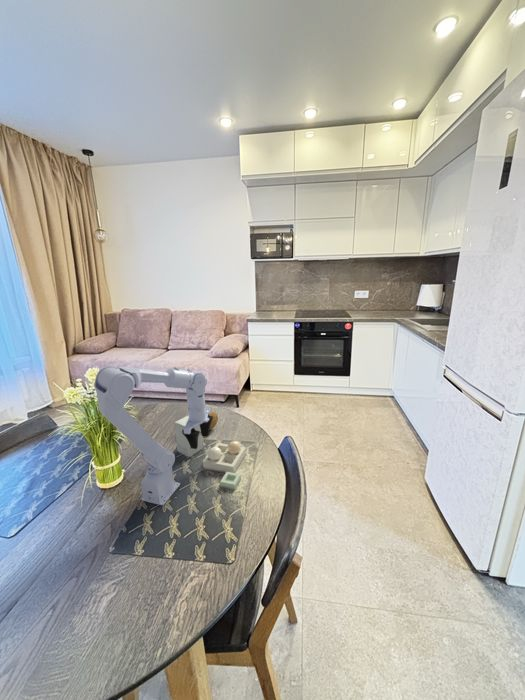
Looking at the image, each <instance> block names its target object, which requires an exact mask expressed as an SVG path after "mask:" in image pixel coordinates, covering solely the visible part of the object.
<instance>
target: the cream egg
mask: <svg viewBox="0 0 525 700" xmlns="http://www.w3.org/2000/svg"><path fill="white" fill-rule="evenodd" d="M207 455H208V457H209V459H210V460H212V461H217V460H219V459H220V458H221V455H222V452H221V450H220V448H218V447H214V446H213V447H210V449H208V451H207Z"/></svg>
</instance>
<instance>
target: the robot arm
mask: <svg viewBox="0 0 525 700" xmlns="http://www.w3.org/2000/svg"><path fill="white" fill-rule="evenodd" d="M142 383H150V384H151V383H153V384H154V383H156V384H157V383H158V384H164V386H165V387H167V388H169V389H171V388H172V389H173V388H174V389H184V390H185V392H186V394H185V395H186V403H187V412H188V414H187V415H189V418H188V421H187V423H186V426H185V427H184V428H183V430H182V434H183V435H184V436H185V437H186V438H187V440H188V442H189V444H190V447H191V448H192V449H197V447H198V435H199V433H200V431H196V430H195V429H194V427H196V426H198V425H200V429H201V434H202V436H203V438H204V437H205V438H208V436H209V433H210V430H211V429H210V425H211V422H212V420H213V416H209V415H210V414H211V412H212V411H211V408H206V399H205V397H206V396H205V393H206V387H207V384H208V379H207V378H206V376H205V375H204V373H202V372H199V371H195V370H193V369H188V368H187V369H181V368H180V367H179V366H178V367H177V366H173V368H168V369H166V371H158V370H154V369H148V368H147V369H146V368H139V367H131V366H117V367H115V366H111V365H108V366H104V367H103V368H101V369H100V370H99V371H97V373H96V376H95V379H94V382H93V387H94V389H95V391H96V392H95V393H96V399H97V404H98V411H99V412H100V414H101V415H103V417H104V418H106V420H107V421H108V422H109V423H111V424H112V425H113V427H114V428H116V430H118V431H119V432H120V433H121V434H122V435H123V436H124V437H125V438H126V439H127V440H128V441H130V443H131V444H133V446H134V447H136V448H137V450H138V451H139V452H140V455H141V458H142V460H143V461H146V473H145V475H144V477H143V478H142V479H141V482H140V489H141V493H142V497H141V498H140V500H141V501H142V502H147V503H151V504H155V505H159V506H164V505H165V504H166V502H167V501H168V500H169V499H170V498H171V497H172V495H173V494H174V493H175V492H176V491H177V489H178V488H179V487H180V486H181V483H180V482H178V481H175V480H174V473H173V466H174V465H175V460H176V455H175V453H174V452H173V451H170V450H168V449H167V448H166V447H164V446H162V445H161V444H160V443H159V442H158V441H156V440H155V439H154V438H153V437H152V435H150V434H149V433H148V432H147V431H146V430H145V428H144V427H142V425H140V423H139V422H138V421H137V420H136V419H135V418H134V417H133V416H132V415H131V414H130V413H129V412H128V411H127V410H126V409H125V408H124V407H125V404H126V403H127V401H128V400H129V398H130V396H131V394H132V392H133V391H134V389H138V388H139V387H140V385H141V384H142ZM209 429H210V430H209Z"/></svg>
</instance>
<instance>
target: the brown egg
mask: <svg viewBox="0 0 525 700" xmlns="http://www.w3.org/2000/svg"><path fill="white" fill-rule="evenodd" d="M227 445H228V452H229V453H230V454H234V455H236V454H238V453H239V452H240V450H241V447H242V445H241V444H240V442H239V441H237V440H233V441H232V440H231V441H230V442H229V443H228V444H227Z"/></svg>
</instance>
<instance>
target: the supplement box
mask: <svg viewBox="0 0 525 700" xmlns="http://www.w3.org/2000/svg"><path fill="white" fill-rule="evenodd" d="M188 418H189V414H187V415H186V416H184V417H182V418H180V419H179V420H178V419H177V420H176V421H174V422H173V423H174V431H175V440H176V449H177V452H179V453H180V454H183V456H186V457H188V458H191V457H192V456H194V455H195V454H197V453H198V452H199V451H201V450H203V449H204V448H205V447H204V436H202V434H201V429H200V425H198V426H196V427H194V429H195V430H196V431H200V433H199V435H198V447H197V449H192V448H191V447H190V444H189V442H188V440H187V438H186V437H185V436H184V435H183V434H182V430H183V428H184V427H185V426H186V423H187V421H188Z"/></svg>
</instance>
